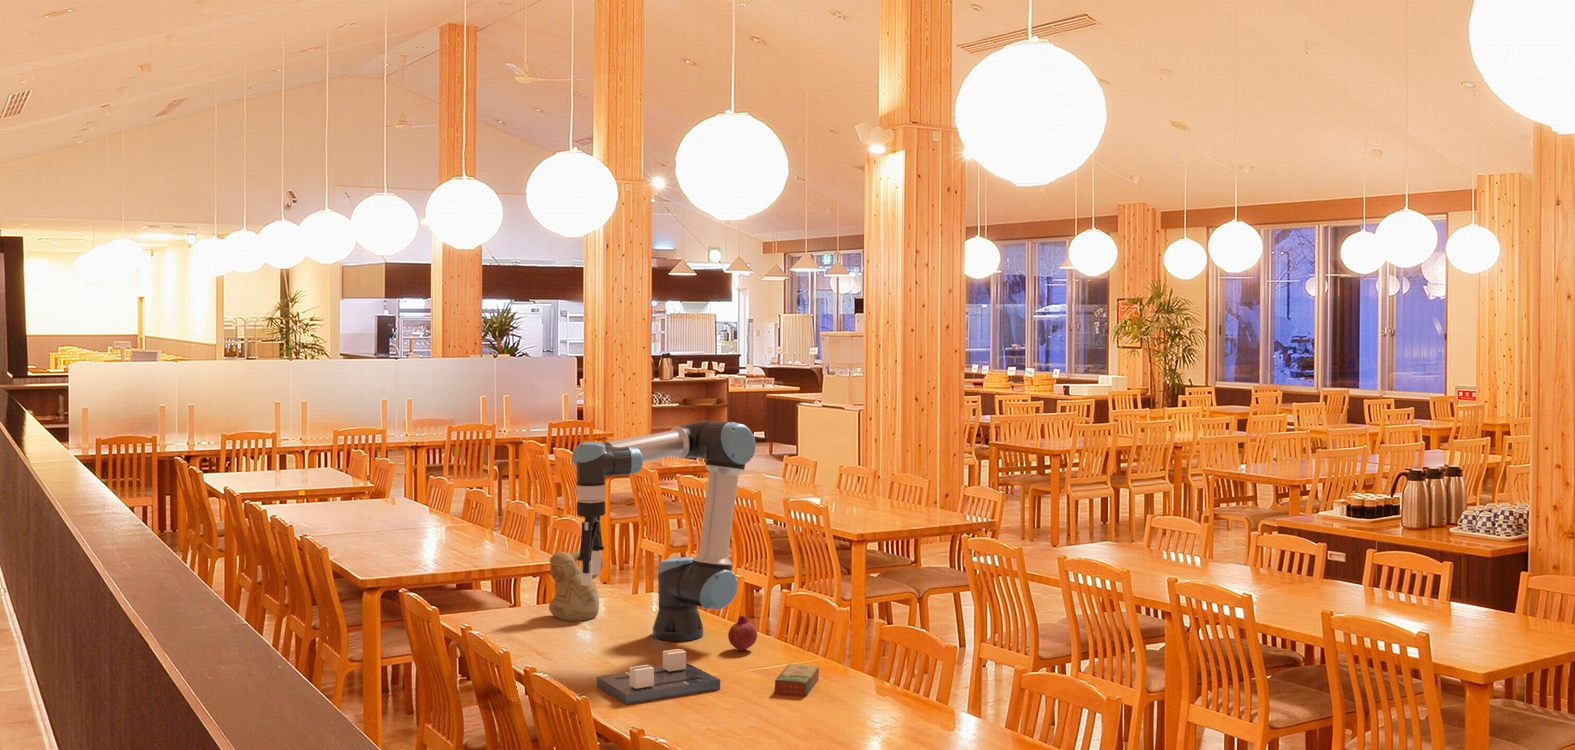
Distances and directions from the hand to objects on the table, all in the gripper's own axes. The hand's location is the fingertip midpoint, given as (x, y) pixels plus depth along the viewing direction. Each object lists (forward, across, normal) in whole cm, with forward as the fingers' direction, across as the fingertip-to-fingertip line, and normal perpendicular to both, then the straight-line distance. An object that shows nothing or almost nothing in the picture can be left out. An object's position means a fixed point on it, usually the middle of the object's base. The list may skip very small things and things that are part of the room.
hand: (591, 579), depth 340 cm
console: (+24, +16, +20) cm, 35 cm away
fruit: (+25, -23, +39) cm, 51 cm away
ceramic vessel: (+25, -61, -16) cm, 68 cm away
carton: (+25, +13, +55) cm, 62 cm away
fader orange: (+22, +8, +23) cm, 33 cm away
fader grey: (+22, +24, +17) cm, 36 cm away
